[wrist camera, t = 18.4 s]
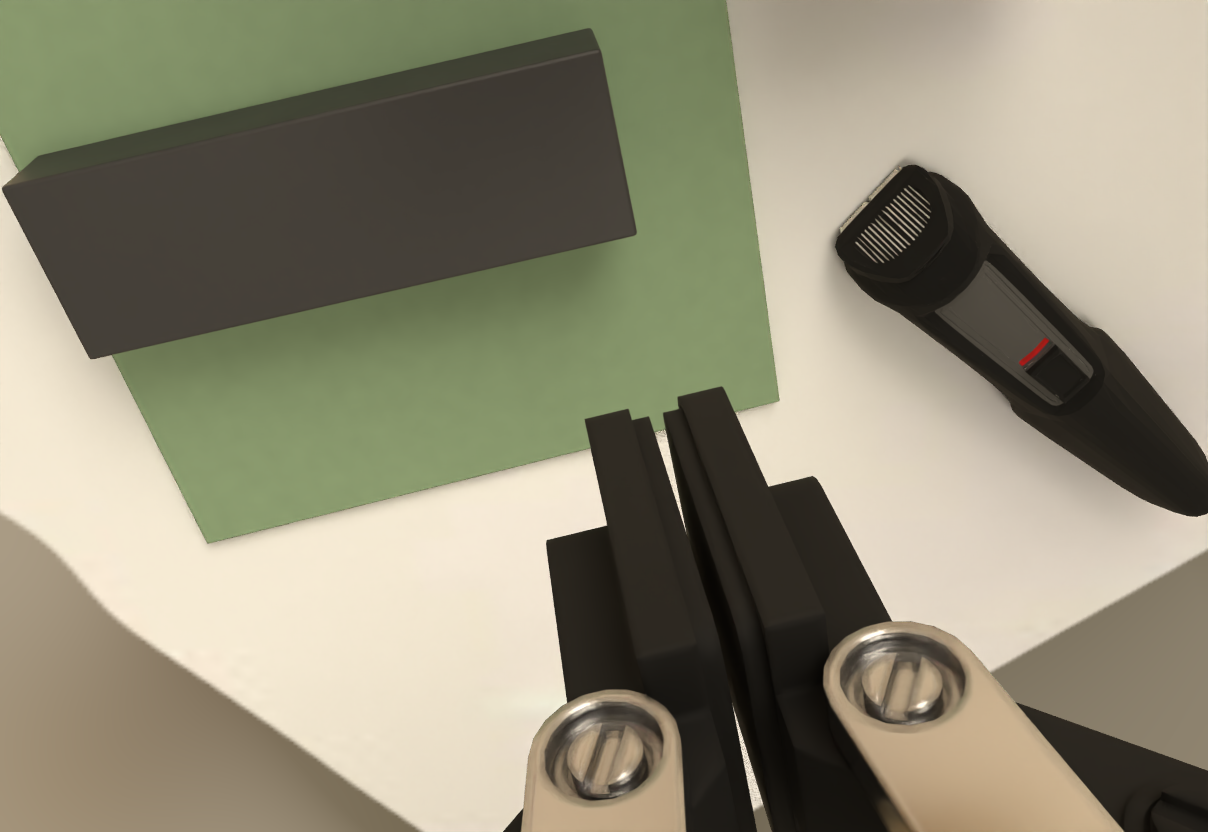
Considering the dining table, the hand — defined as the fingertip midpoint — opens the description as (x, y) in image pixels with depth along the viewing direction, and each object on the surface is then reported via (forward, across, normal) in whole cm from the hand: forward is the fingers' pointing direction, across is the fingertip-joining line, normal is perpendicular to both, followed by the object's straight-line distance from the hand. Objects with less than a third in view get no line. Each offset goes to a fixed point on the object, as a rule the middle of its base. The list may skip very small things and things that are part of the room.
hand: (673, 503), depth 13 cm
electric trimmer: (+18, -13, +10) cm, 24 cm away
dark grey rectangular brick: (+16, +6, 0) cm, 17 cm away
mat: (+18, +4, 0) cm, 18 cm away
